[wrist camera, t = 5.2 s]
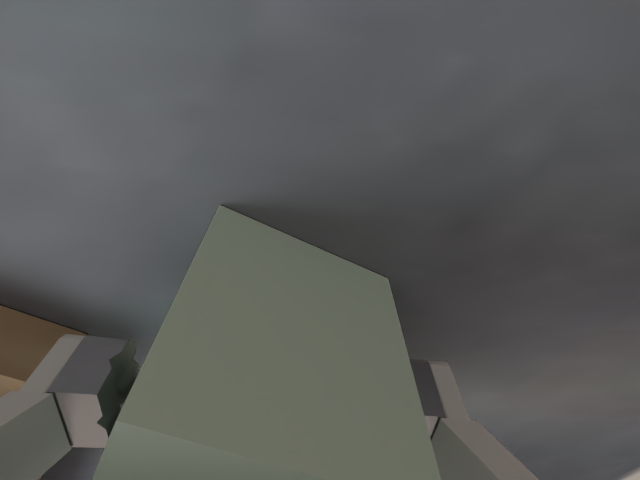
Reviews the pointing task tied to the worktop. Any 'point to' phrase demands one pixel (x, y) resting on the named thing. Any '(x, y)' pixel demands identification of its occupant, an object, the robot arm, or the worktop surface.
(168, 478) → the block
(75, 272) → the worktop surface
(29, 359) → the stand
